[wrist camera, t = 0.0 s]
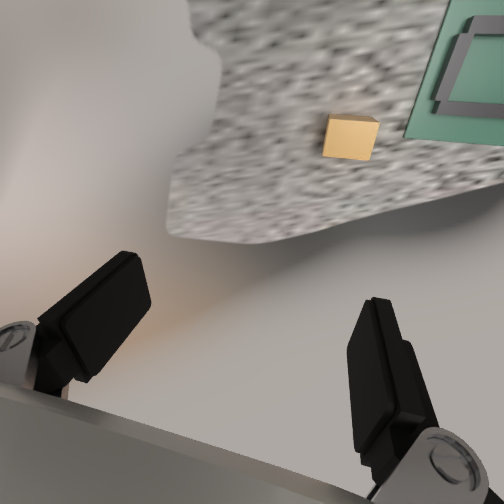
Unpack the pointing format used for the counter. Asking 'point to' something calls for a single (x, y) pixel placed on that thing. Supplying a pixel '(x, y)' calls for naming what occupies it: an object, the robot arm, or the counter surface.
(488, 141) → the board
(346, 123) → the plug block
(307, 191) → the counter surface
